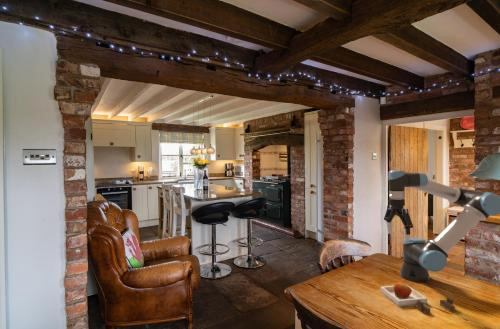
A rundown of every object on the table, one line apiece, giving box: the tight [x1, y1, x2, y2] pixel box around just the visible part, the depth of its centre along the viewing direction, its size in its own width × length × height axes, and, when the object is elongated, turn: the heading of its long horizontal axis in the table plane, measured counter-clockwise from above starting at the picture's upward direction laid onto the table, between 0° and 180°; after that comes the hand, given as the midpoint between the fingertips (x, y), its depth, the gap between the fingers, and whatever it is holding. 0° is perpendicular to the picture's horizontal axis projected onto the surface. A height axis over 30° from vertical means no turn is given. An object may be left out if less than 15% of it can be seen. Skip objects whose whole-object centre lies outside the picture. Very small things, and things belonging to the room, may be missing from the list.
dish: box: [380, 284, 428, 308], centre depth 143 cm, size 15×15×3 cm
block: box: [415, 297, 456, 315], centre depth 132 cm, size 16×6×4 cm, turn 97°
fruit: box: [393, 281, 412, 299], centre depth 143 cm, size 8×8×8 cm
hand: (398, 236), depth 154 cm, fingers open, 13 cm apart
